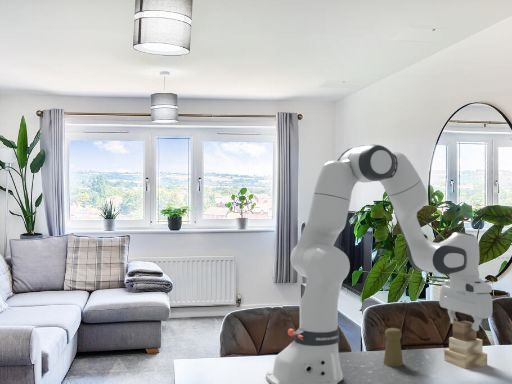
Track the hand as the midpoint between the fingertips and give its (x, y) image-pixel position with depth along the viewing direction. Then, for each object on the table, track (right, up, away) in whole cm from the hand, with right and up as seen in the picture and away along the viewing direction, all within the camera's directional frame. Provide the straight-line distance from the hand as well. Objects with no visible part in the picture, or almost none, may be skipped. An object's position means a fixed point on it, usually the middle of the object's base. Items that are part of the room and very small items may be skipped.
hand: (464, 326), depth 175 cm
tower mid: (0, -8, 0) cm, 8 cm away
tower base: (0, -12, 0) cm, 12 cm away
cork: (-23, -12, -1) cm, 26 cm away
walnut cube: (0, -4, 0) cm, 4 cm away
